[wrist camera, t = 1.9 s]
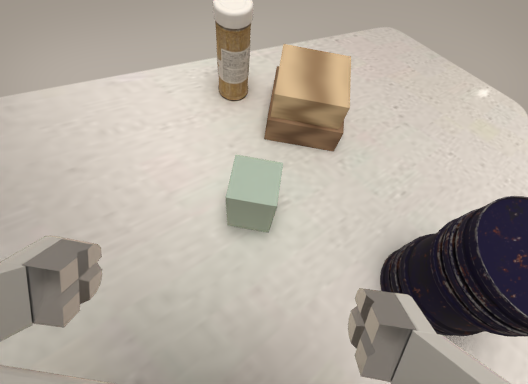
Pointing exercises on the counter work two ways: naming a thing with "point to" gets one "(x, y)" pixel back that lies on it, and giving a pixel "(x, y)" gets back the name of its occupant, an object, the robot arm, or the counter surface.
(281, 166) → the sage block
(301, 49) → the oak block
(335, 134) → the walnut block
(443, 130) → the counter surface
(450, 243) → the storage jar
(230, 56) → the sprinkles bottle
